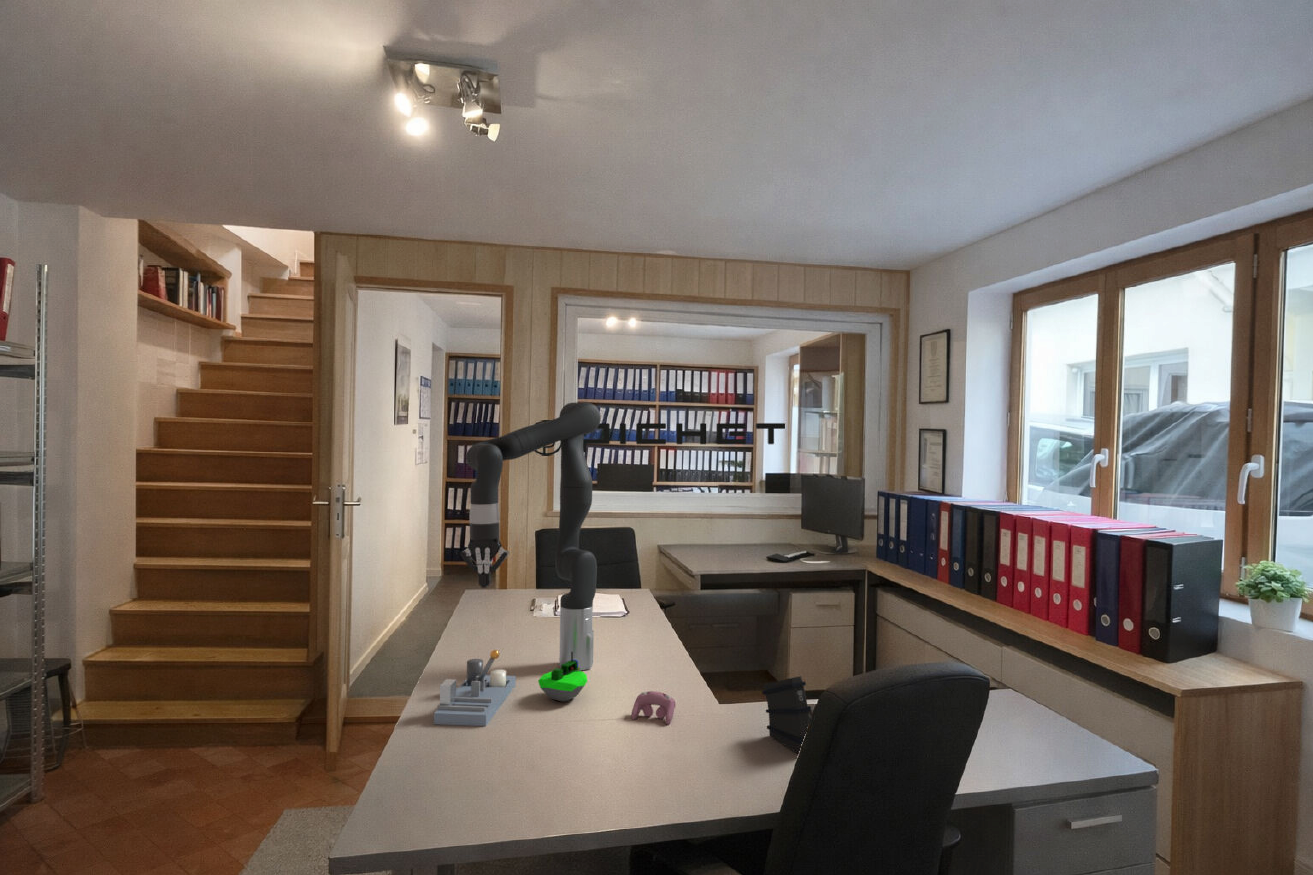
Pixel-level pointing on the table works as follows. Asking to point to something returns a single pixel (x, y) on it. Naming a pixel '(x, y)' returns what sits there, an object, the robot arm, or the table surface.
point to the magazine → (787, 711)
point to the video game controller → (654, 698)
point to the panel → (474, 703)
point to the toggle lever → (488, 665)
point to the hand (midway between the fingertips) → (484, 587)
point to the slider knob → (448, 692)
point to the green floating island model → (563, 681)
